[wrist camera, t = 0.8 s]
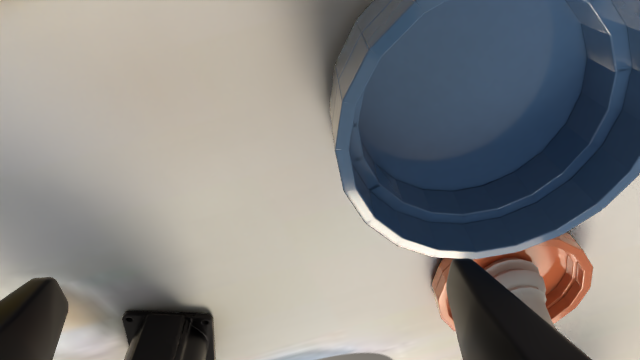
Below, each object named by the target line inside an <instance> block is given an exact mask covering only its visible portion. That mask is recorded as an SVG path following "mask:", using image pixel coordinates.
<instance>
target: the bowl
mask: <svg viewBox="0 0 640 360" xmlns="http://www.w3.org/2000/svg"><path fill="white" fill-rule="evenodd" d="M329 109H330V117H331V124H332V132H333V140H334V147H335V153H336V158H337V163H338V167H339V172H340V176H341V181H342V186H343V190H344V192H345V194H346V195H347V197H348V198H349V200H350V201H351V203H352V204H353V206H354V207H355V209H356V210H357V212H358V213H359V214H360V216H361V217H362V219H363V220H364V222H365V223H366V224H367V225H369V226H370V227H371V228H373V229H374V230H376V231H377V232H378V233H380V234H381V235H383V236H384V237H385V238H387V239H388V240H390V241H391V242H392V243H394V244H395V245H397V246H399V247H402V248H406V249H409V250H412V251H415V252H418V253H421V254H424V255H427V256H430V257H435V258H453V259H463V258H469V259H472V260H474V259H481V258H487V257H492V256H498V255H504V254H510V253H516V252H520V251H522V250H525V249H527V248H530V247H533V246H535V245H538V244H540V243H543V242H546V241H548V240H551V239H553V238H556V237H559V236H561V235H563V234H564V233H566V232H568V231H569V230H571V229H572V228H574V227H576V226H577V225H579V224H580V223H582V222H584V221H585V220H587V219H588V218H590V217H592V216H593V215H595V214H596V213H598V212H599V211H601V210H602V208H605V207H606V206H607V205H608V204H609V203H610V202H611V201H612V200H613V199H614V198H615V197H617V196H618V195H619V194H620V193H621V192H622V191H623V190H624V189H625V188H626V187H627V186H628V185H629V184H630V183H631V182H632V181H633V180H634V179H635V178H636V177H637V176H639V173H640V0H374V1H373V2H372V3H371V4H370V5H369V6H368V7H367V8H366V10H365V11H364V12H363V13H362V14H361V15H360V16H359V17H358V18H357V20H356V22H355V23H354V25H353V28H352V30H351V32H350V34H349V36H348V38H347V40H346V42H345V44H344V47H343V49H342V51H341V53H340V55H339V57H338V59H337V61H336V65H335V67H334V74H333V82H332V89H331V97H330V105H329Z"/></svg>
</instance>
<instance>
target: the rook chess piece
mask: <svg viewBox="0 0 640 360" xmlns="http://www.w3.org/2000/svg"><path fill="white" fill-rule="evenodd" d="M484 270H485V271H487V272H488V273H489V274H490V275H491V276H493V277H494V278H495V279H496V280H497V281H499V282H500V283H501V284H502V285H503V286H505V287H506V288H507V289H508V290H509V291H511V292H512V293H513V294H514V295H515V296H516V297H518V298H519V299H520V300H521V301H522V302H524V303H525V304H526V305H527V306H528V307H530V308H531V309H532V310H533V311H534V312H536V313H537V314H538V315H539V316H540V317H542V318H543V319H544V320H545V321H546V322H548V323H549V324H550V325H551V326H552V327H553V328H555V326H554V324H553V322H552V320H551V317H550V315H549V313H548V310H547V308H546V305H545V303H546V300H547V299H546V296H545V292H546V287H545V283H544V279H543V277H541V276H540V274H539V270H538V267H536V266H535V265H534V264H533V263H532V262H530V261H526V260H523V259H519V258H504V259H501V260H498V261H495V262H493V263H491V264H490V265H488V266H487V267H485V268H484ZM555 329H556V328H555ZM556 330H557V329H556ZM564 337H565V336H564Z"/></svg>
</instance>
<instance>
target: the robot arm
mask: <svg viewBox="0 0 640 360" xmlns="http://www.w3.org/2000/svg"><path fill="white" fill-rule="evenodd" d="M446 291H447V296H448V300H449V304H450V308H451V313H452V317H453V321H454V325H455V329H456V334H457V338H458V342H459V346H460V350H461V354H462V357H463V360H592V359H590V358H589V357H588V356H587V355H586V354H585V353H583V352H582V351H581V350H580V349H579V348H577V347H576V346H575V345H574V344H573V343H571V342H570V341H569V340H568V339H567V338H565V337H564V336H563V335H562V334H561V333H559V332H558V331H557V330H556V329H555V328H553V327H552V326H551V325H550V324H549V323H548V322H546V321H545V320H544V319H543V318H542V317H540V316H539V315H538V314H537V313H536V312H534V311H533V310H532V309H531V308H530V307H528V306H527V305H526V304H525V303H524V302H522V301H521V300H520V299H519V298H518V297H516V296H515V295H514V294H513V293H512V292H511V291H509V290H508V289H507V288H506V287H505V286H503V285H502V284H501V283H500V282H499V281H497V280H496V279H495V278H494V277H493V276H491V275H490V274H489V273H488V272H487V271H485V270H484V269H483V268H482V267H481V266H479V265H478V264H477V263H476V262H475V261H473V260H472V259H469V258H463V259H453V260H452V262H451V265H450V269H449V274H448V278H447V283H446ZM67 313H68V301H67V299H66V297H65V295H64V293H63V291H62V289H61V288H60V286H59V284H58V282H57V281H56V280H55V279H54V278H51V277H46V278H34V279H31V280H30V281H28V282H27V283H25V284H24V285H22V286H21V287H19V288H18V289H17V290H15V291H14V292H12V293H11V294H9V295H8V296H6V297H5V298H4V299H2V300H1V301H0V360H52V359H53V356H54V353H55V350H56V347H57V344H58V341H59V338H60V335H61V331H62V328H63V325H64V322H65V319H66V316H67ZM122 320H123V324H124V328H125V331H126V335H127V339H128V343H129V348H128V351H127V353H126V356H125V359H124V360H216V357H215V340H214V324H213V317H212V316H211V315H209V314H200V313H175V312H149V311H126V312H125V313H124V315H123V318H122Z"/></svg>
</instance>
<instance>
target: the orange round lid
mask: <svg viewBox="0 0 640 360" xmlns="http://www.w3.org/2000/svg"><path fill="white" fill-rule="evenodd" d="M504 258H519V259H523V260H526V261H530V262H532V263H533V264H534V265H535V266H536V267H538V270H539V274H540V276H541V277H543V279H544V283H545V287H546V292H545V296H546V299H547V300H546V303H545V305H546V308H547V310H548V313H549V315H550V317H551V320H552V322H553V324H554V323H556V322H557V321H558V320H560V319H561V318H563V317H564V316H565V315H567V314H568V313H569V312H571V311H572V310H573V309H575V308H576V307H577V306H578V304H579V303H580V301H581V300H582V299H583V297H584V296H585V294H586V293H587V292H588V290H589V289H590V287H591V279H592V272H593V266H592V264H591V263H590V261H589V259H588V258H587V256H586V254H585V253H584V251H583V250H582V248H581V247H580V246H579V245H578V243H577V242H576V241H575V240H574V239H573V237H572V236H571V235H570V234H568V233H564V234H563V235H561V236H559V237H556V238H553V239H551V240H548V241H546V242H543V243H540V244H538V245H535V246H533V247H530V248H527V249H525V250H522V251H520V252H516V253H510V254H504V255H498V256H492V257H487V258H481V259H474V260H473V261H475V262H476V263H477V264H478V265H479V266H481V267H482V268H483V269H484V268H485V267H487V266H488V265H490V264H491V263H493V262H495V261H498V260H501V259H504ZM452 260H453V258H443V259H442V261H441V262H440V264H439V266H438V269H437V271H436V274H435V277H434V279H433V282H432V287H433V292H434V297H435V301H436V304H437V307H438V310H439V313H440V316H441V319H442V320H443V321H445V322H446V323H447V324H448V325H449V326H450V327H451V328H452V329H453V330H454V331H455V332H456V329H455V325H454V321H453V317H452V313H451V308H450V304H449V300H448V296H447V291H446V283H447V278H448V274H449V269H450V265H451V262H452Z"/></svg>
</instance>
